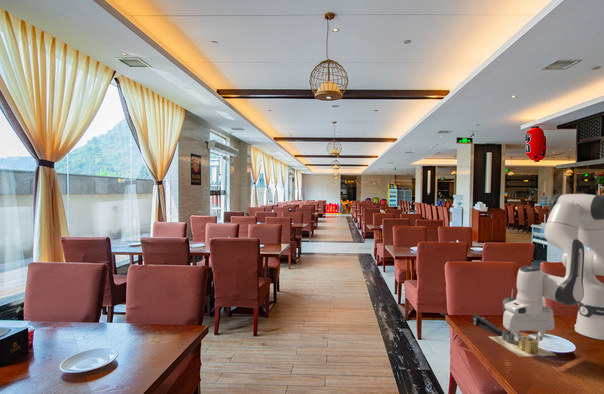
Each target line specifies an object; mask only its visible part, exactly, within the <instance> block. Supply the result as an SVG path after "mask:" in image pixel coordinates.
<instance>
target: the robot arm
mask: <svg viewBox="0 0 604 394" xmlns="http://www.w3.org/2000/svg"><path fill="white" fill-rule="evenodd" d="M548 210H549V212H550V213H549V215H548V218H547V220H546V224H545V226H544V231H543V234H544V235H543V236H544V239H545V240H546V241H547V242H548V243H549V244H550V245H552V246H554V247H556V248H557V249H559V250H561V251H562V252H563V253H562V255H561V263H562V264H563V267H565V276H564V277H563V276H556V275H552V274H549V273H546V272H544V271H543V270H542V268H540V267H539V266H536V265H523V266H521V267H520V268H519V269H518V271H517V276H516V289H517V294H516V296H515V299H516V300H514V301H511V302H509V303H506V304H505V306H504V307H505V309H507V310H505V312H503V316H502V317H503V319H502V325H503V328H505V330H506V331H507V330H508V331H512V332H513V334H514V336H515V340H516V341H521V337H519V335H518V333H520V332H526V331H527V332H528V331H530V332H531V331H538V333H537V334H535V339H537V341H539V342H540V341H543V338H544V336H545V335H546V331H553V330H554V329H555V318H554V311H553V309H552V307H551V306H548V305H546V306H545V305H543V303H544V301H543V300H544V299H543V298H546V299H549V300H552V301H555V302H558V303H561V304H563V305H566V306H569V307H572V306H575V305H577V307H578V311H577V316H576V323H575V324H574V331H575V332H576V333H578V334H580V335H582V336H584V337H589V338H592V339H596V340H599V341H604V283H603V282H601V281H600V280H599V279H598V278H597V277H596V276H604V195H601V194H600V195H599V194H596V195H595V194H587V193H559V194H558V193H557V194H554V195H553V196H551V198H550V199H549V200H548ZM585 247H586V248H588V249H585ZM589 249H590V250H589Z"/></svg>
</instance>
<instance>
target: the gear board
mask: <svg viewBox="0 0 604 394" xmlns="http://www.w3.org/2000/svg"><path fill="white" fill-rule="evenodd" d="M511 335H514V334H513V332H512V331H511ZM488 338H490V339H491V340H492V341H494V342H496V343H498V344H499V345H500V346H502V347H504V349H505V348H506V349H507V350H509V351H510V352H512V353H513V354H515V355H516V356H518V357H545V356H546V357H547V356H548V357H549V356H557V354H555V353H554V352H552V351H550V350H549V349H547V350H544V349H542V348H539V347H538V353H537V352H536V354H534V353H527V352H525V351H522V350H520V348H518V346H519V345H515V344H511V343H507V342H506V341H504V340H502V335H500V336H499V335H496V336H488ZM526 340H529V341H531V338H529V337H526Z"/></svg>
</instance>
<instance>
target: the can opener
mask: <svg viewBox="0 0 604 394" xmlns="http://www.w3.org/2000/svg"><path fill="white" fill-rule="evenodd" d="M472 324H474V325H475V326H478V327H480V328H482V329H484V330H485V331H487V332H489V333H492V334H494V335H496V336H499V334H500V335H502V332H503V330H501V329H500V328H499V327H497V326H496V325H494V324H493V323H492V322H490V321H488V320H487V319H486V318H485V317H481V316H480V315H479V314H478V315H477V314H474V315H473V316H472Z"/></svg>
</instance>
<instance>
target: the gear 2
mask: <svg viewBox="0 0 604 394" xmlns="http://www.w3.org/2000/svg"><path fill="white" fill-rule="evenodd" d="M519 337H520V336H519ZM526 337H529V338H531V341H529V340H526ZM539 342H540V341H538V340H537V339H536V337H535V338H534V337H531V336H528V335H527V336H526V335H524V336H521V341H519V346H518V348H520V350H522V351H525V352H527V353H534V354H536V352H537V353H538V345H540V344H539Z"/></svg>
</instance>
